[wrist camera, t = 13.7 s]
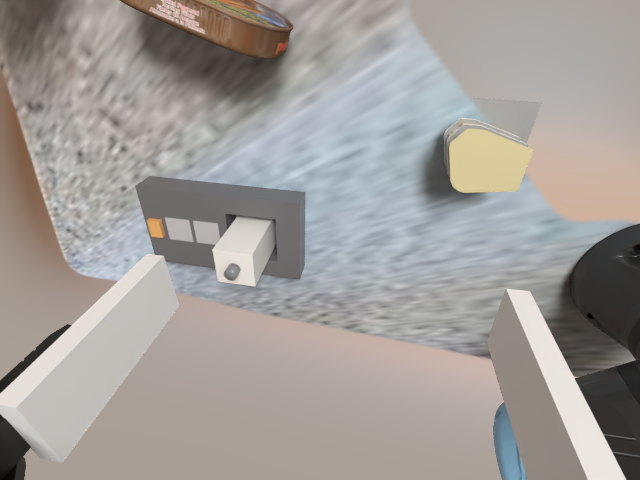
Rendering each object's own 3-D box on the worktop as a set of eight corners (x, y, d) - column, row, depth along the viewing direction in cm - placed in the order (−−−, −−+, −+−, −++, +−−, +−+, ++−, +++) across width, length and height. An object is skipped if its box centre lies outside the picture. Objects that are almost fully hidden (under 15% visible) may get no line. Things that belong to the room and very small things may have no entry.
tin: (303, 23, 32) (279, 24, 25) (292, 58, 33) (267, 70, 26) (147, -49, 31) (76, -68, 24) (144, -8, 32) (78, -15, 25)
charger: (275, 213, 43) (248, 261, 35) (276, 242, 46) (251, 293, 37) (242, 209, 44) (207, 256, 35) (245, 238, 46) (213, 288, 38)
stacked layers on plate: (541, 102, 32) (567, 116, 28) (509, 189, 37) (526, 213, 32) (432, 94, 33) (439, 107, 29) (415, 180, 38) (418, 202, 34)
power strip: (305, 192, 41) (298, 206, 38) (304, 265, 47) (298, 282, 44) (149, 176, 43) (132, 188, 40) (168, 247, 49) (154, 262, 46)
